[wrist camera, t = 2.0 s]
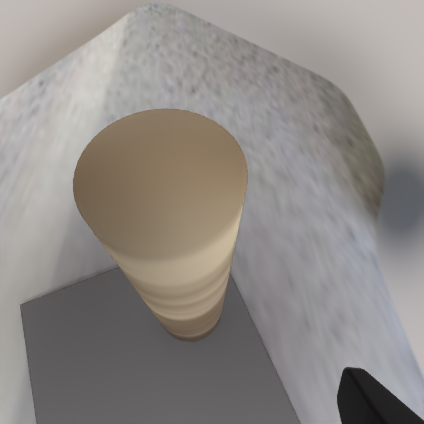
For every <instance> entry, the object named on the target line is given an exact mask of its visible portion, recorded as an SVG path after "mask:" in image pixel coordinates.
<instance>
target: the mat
mask: <svg viewBox="0 0 424 424" xmlns="http://www.w3.org/2000/svg"><path fill="white" fill-rule="evenodd" d="M20 308H21V316H22V323H23V330H24V337H25V344H26V351H27V358H28V366H29V373H30V380H31V387H32V394H33V401H34V408H35V416H36V423H37V424H300V422H299V420H298V418H297V416H296V413H295V411H294V409H293V407H292V405H291V403H290V401H289V398H288V396H287V394H286V392H285V390H284V388H283V386H282V383H281V381H280V379H279V377H278V375H277V373H276V370H275V368H274V366H273V364H272V362H271V360H270V358H269V355H268V353H267V351H266V349H265V347H264V345H263V342H262V340H261V338H260V336H259V334H258V332H257V330H256V327H255V325H254V323H253V321H252V319H251V317H250V315H249V312H248V310H247V308H246V306H245V304H244V302H243V299H242V297H241V295H240V293H239V291H238V289H237V287H236V284H235V282H234V280H233V278H232V276H231V274H230V273H229V278H228V283H227V288H226V293H225V298H224V303H223V308H222V312H221V317H220V320H219V323H218V325H217V326H216V328H215V329H214V330H213V332H212V333H211V334H209V335H208V336H207V337H205V338H203V339H201V340H198V341H192V342H187V341H181V340H178V339H176V338H174V337H173V336H171V335H170V334H169V333H168V332H167V331H166V330H165V328H164V327H163V326H162V324H161V323H160V322H159V320H158V319H157V317H156V316H155V315H154V313H153V312H152V311H151V309H150V308H149V307H148V305H147V304H146V303H145V301H144V300H143V299H142V297H141V296H140V294H139V293H138V292H137V290H136V289H135V288H134V286H133V285H132V284H131V282H130V281H129V280H128V278H127V277H126V276H125V274H124V273H123V271H122V270H121V269H120V267H119V268H116V269H113V270H111V271H108V272H105V273H103V274H100V275H98V276H95V277H92V278H90V279H87V280H84V281H82V282H79V283H77V284H74V285H71V286H69V287H66V288H63V289H61V290H58V291H56V292H53V293H50V294H48V295H45V296H42V297H40V298H37V299H35V300H32V301H29V302H27V303H24V304H21V305H20Z"/></svg>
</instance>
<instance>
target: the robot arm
mask: <svg viewBox="0 0 424 424" xmlns="http://www.w3.org/2000/svg"><path fill="white" fill-rule="evenodd" d="M337 403H338V409H339V413H340V418H341V422H342V424H424V421H423V420H422V419H421V418H420V417H419V416H418V415H417V414H415V413H414V412H413V411H412V410H411V409H410V408H408V407H407V406H406V405H405V404H404V403H403V402H401V401H400V400H399V399H398V398H397V397H396V396H394V395H393V394H392V393H391V392H390V391H389V390H388V389H386V388H385V387H384V386H383V385H382V384H381V383H379V382H378V381H377V380H376V379H375V378H374V377H372V376H371V375H370V374H369V373H368V372H367V371H365V370H364V369H361V368H353V367H346V368H344V370H343V373H342V377H341V381H340V385H339V389H338V394H337Z"/></svg>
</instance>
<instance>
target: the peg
mask: <svg viewBox="0 0 424 424" xmlns="http://www.w3.org/2000/svg"><path fill="white" fill-rule="evenodd" d="M247 182H248V170H247V163H246V160H245V157H244V154H243V152H242V150H241V148H240V146H239V144H238V143H237V141H236V140H235V139H234V137H233V136H232V135H231V134H230V133H229V132H228V131H227V130H226V129H224V128H223V127H222V126H221V125H219V124H218V123H216V122H215V121H213V120H211V119H209V118H207V117H205V116H202V115H199V114H197V113H193V112H189V111H185V110H178V109H155V110H147V111H143V112H139V113H135V114H132V115H129V116H126V117H124V118H122V119H120V120H118V121H116V122H114V123H112V124H111V125H109V126H108V127H106V128H105V129H103V130H102V131H101V132H100V133H99V134H98V135H96V136H95V137H94V138H93V139H92V141H91V142H90V143H89V144H88V145H87V147H86V148H85V150H84V151H83V153H82V154H81V156H80V158H79V160H78V163H77V166H76V169H75V173H74V179H73V192H74V198H75V202H76V205H77V207H78V210H79V212H80V214H81V215H82V217H83V219H84V220H85V221H86V223H87V224H88V226H89V227H90V228H91V230H92V231H93V232H94V234H95V235H96V236H97V238H98V239H99V240H100V242H101V243H102V244H103V246H104V247H105V249H106V250H107V251H108V253H109V254H110V255H111V257H112V258H113V259H114V261H115V262H116V263H117V265H118V266H119V267H120V269H121V270H122V271H123V273H124V274H125V276H126V277H127V278H128V280H129V281H130V282H131V284H132V285H133V286H134V288H135V289H136V290H137V292H138V293H139V294H140V296H141V297H142V299H143V300H144V301H145V303H146V304H147V305H148V307H149V308H150V309H151V311H152V312H153V313H154V315H155V316H156V317H157V319H158V320H159V322H160V323H161V324H162V326H163V327H164V328H165V330H166V331H167V332H168V333H169V334H170V335H171V336H173V337H174V338H176V339H178V340H181V341H187V342H192V341H198V340H201V339H203V338H205V337H207V336H208V335H209V334H211V333H212V332H213V330H214V329H215V328H216V326H217V325H218V323H219V320H220V317H221V312H222V308H223V303H224V298H225V293H226V288H227V283H228V278H229V273H230V268H231V263H232V258H233V253H234V248H235V243H236V238H237V233H238V228H239V223H240V219H241V214H242V209H243V204H244V199H245V194H246V188H247Z"/></svg>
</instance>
